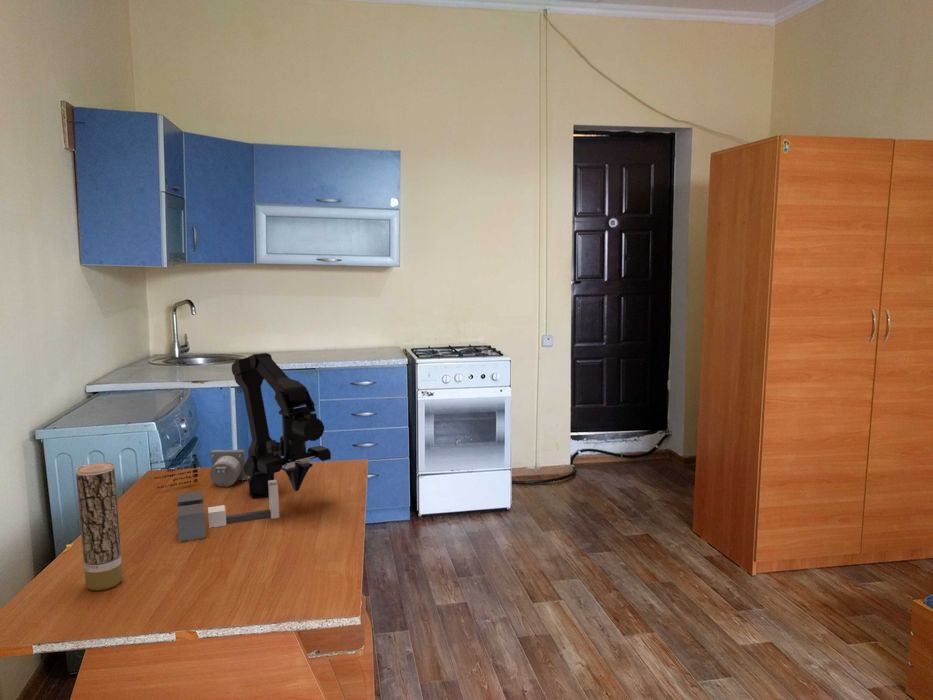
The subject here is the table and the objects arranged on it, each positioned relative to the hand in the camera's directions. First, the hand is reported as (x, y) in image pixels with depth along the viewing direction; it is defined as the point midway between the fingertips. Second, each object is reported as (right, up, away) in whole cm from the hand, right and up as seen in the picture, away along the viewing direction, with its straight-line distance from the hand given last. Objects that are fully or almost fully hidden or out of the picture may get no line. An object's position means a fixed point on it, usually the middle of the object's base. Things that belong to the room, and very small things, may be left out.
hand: (296, 490), depth 175 cm
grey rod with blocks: (-12, -7, -4) cm, 15 cm away
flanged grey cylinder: (-33, -4, +21) cm, 39 cm away
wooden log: (-30, -12, -37) cm, 50 cm away
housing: (-24, -7, -9) cm, 26 cm away
